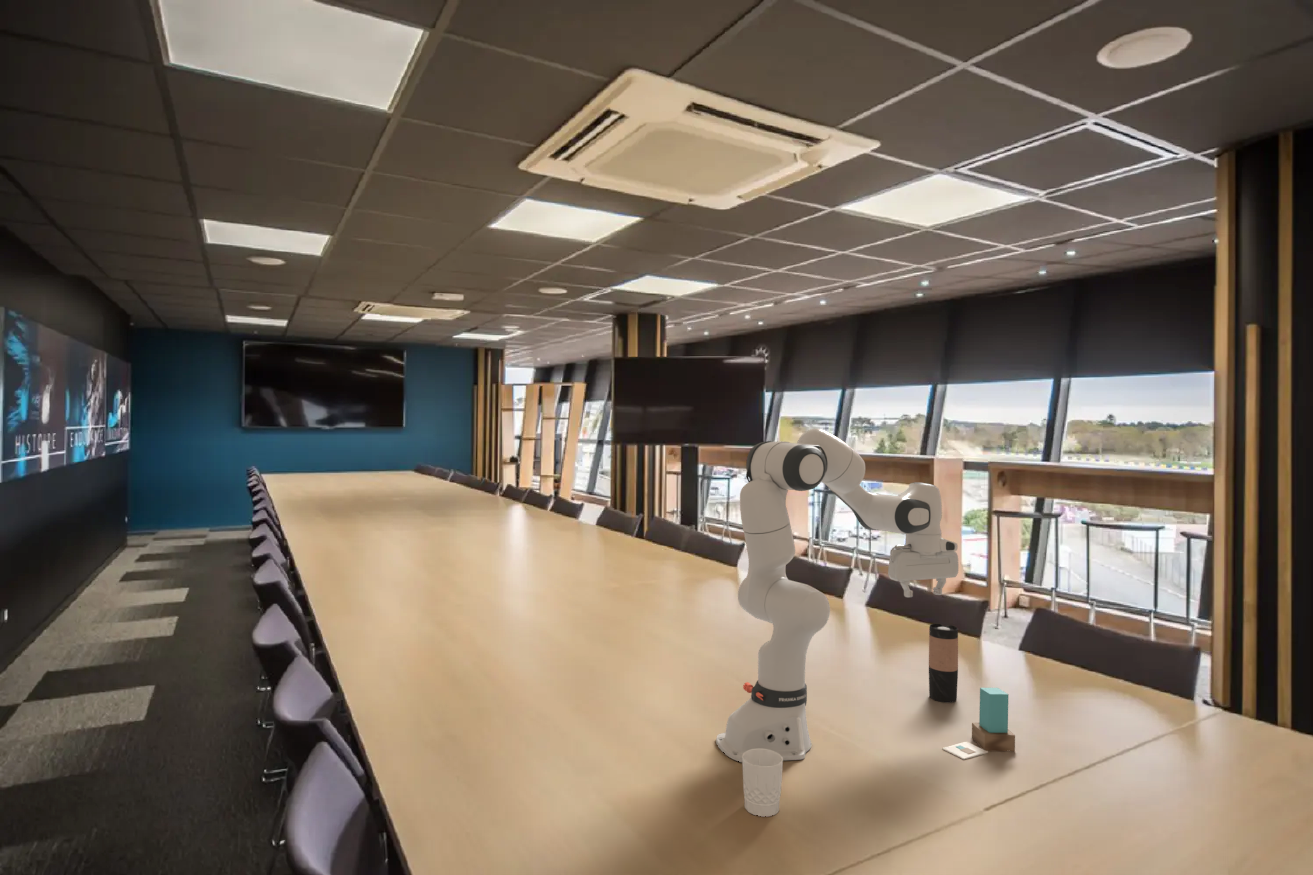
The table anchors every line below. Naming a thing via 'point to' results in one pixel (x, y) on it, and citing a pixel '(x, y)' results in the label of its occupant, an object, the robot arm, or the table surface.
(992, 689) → the teal brick
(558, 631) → the table surface
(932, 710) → the table surface
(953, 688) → the travel mug
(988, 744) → the walnut brick
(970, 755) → the page
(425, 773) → the table surface
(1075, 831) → the table surface
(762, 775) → the white cup
